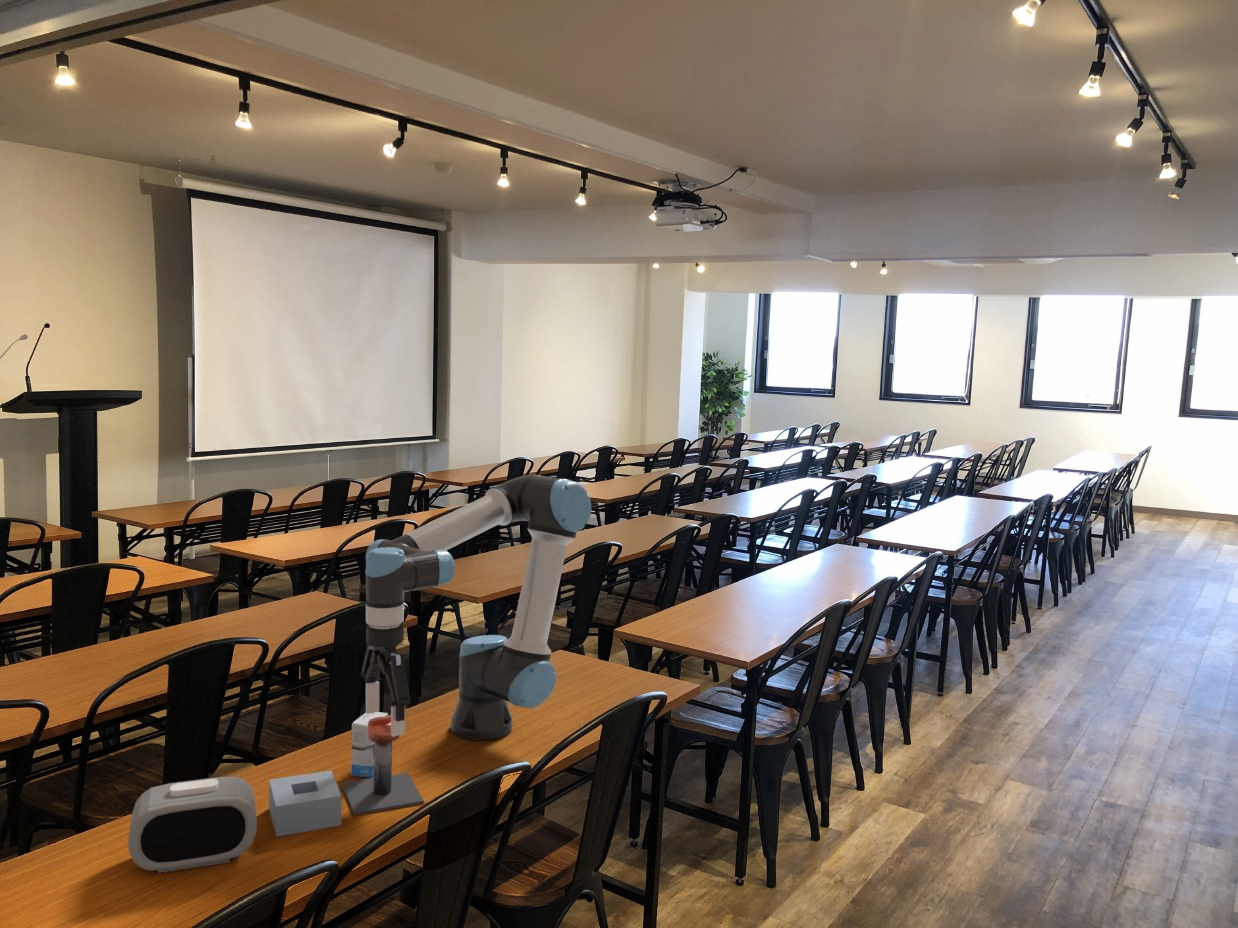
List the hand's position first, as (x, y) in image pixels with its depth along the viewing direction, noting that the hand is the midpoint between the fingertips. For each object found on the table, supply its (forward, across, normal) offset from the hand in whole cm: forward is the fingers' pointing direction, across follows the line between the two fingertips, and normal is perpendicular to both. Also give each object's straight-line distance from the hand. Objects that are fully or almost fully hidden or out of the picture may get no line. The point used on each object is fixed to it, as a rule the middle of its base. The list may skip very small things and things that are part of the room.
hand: (384, 723), depth 193 cm
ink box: (+16, +13, -2) cm, 20 cm away
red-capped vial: (+15, 0, +1) cm, 15 cm away
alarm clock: (+15, -6, +38) cm, 41 cm away
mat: (+15, 0, +1) cm, 15 cm away
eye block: (+15, -1, +17) cm, 23 cm away
